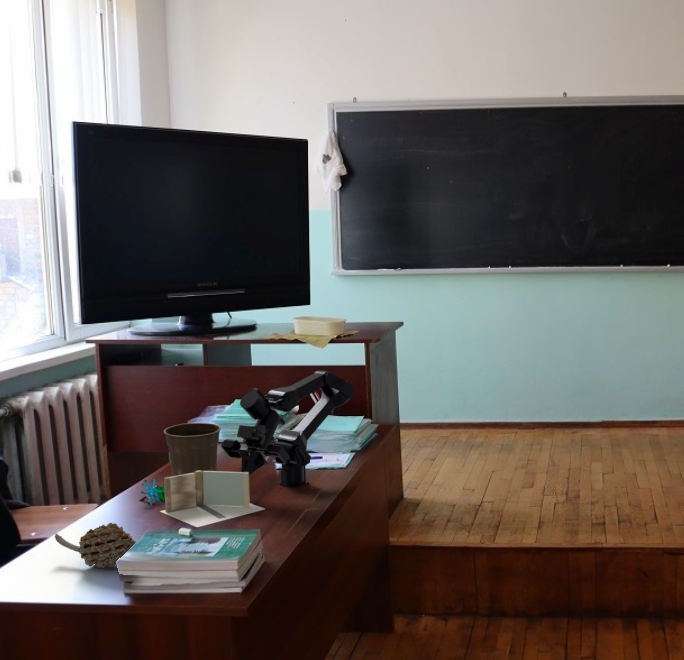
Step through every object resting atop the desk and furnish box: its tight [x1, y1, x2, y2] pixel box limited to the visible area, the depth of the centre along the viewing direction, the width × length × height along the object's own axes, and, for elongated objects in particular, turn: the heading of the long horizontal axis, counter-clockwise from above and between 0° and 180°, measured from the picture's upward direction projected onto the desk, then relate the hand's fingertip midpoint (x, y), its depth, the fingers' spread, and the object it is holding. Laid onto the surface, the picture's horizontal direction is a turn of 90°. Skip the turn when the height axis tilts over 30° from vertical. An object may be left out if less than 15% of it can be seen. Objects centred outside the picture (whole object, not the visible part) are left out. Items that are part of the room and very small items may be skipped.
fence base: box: [163, 470, 204, 512], centre depth 255 cm, size 11×2×9 cm, turn 123°
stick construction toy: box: [138, 478, 165, 506], centre depth 263 cm, size 12×7×8 cm
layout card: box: [159, 502, 265, 528], centre depth 253 cm, size 21×18×1 cm
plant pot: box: [163, 422, 222, 488], centre depth 279 cm, size 16×16×16 cm
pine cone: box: [54, 522, 137, 569], centre depth 215 cm, size 22×10×10 cm, turn 71°
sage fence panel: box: [203, 470, 251, 507], centre depth 255 cm, size 12×1×9 cm, turn 78°
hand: (242, 478), depth 258 cm, fingers closed
